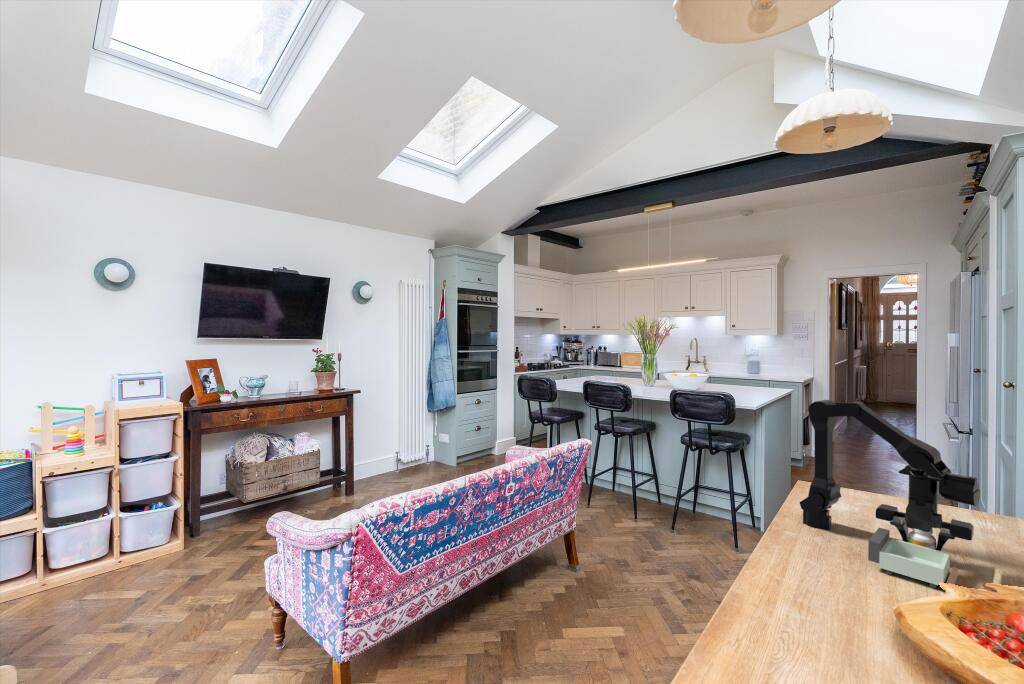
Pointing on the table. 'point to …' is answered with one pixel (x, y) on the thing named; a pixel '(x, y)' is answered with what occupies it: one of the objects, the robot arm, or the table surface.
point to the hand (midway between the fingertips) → (921, 553)
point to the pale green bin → (908, 558)
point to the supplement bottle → (922, 538)
